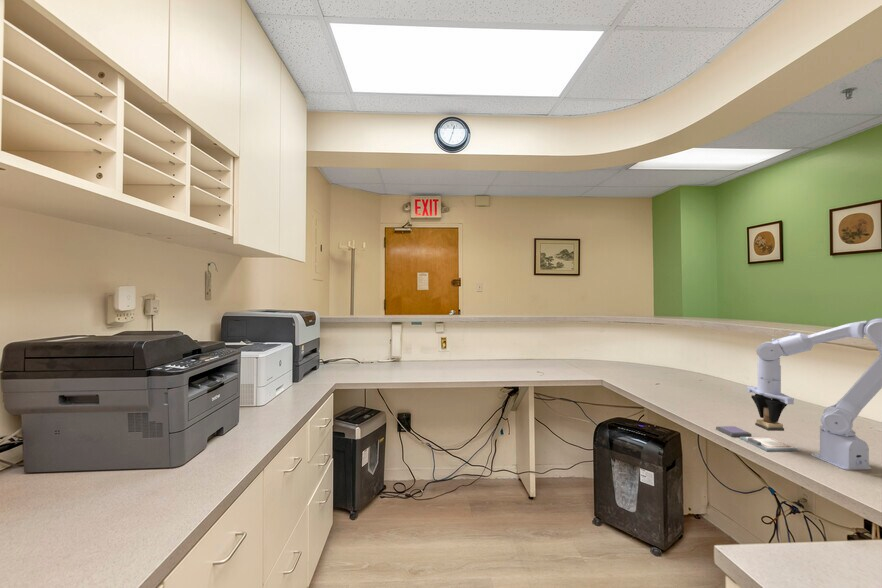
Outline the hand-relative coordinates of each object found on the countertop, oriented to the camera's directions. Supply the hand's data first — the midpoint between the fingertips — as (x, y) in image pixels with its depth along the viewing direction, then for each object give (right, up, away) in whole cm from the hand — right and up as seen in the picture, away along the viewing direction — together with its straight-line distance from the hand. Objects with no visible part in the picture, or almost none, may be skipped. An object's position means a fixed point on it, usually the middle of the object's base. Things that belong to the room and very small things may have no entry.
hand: (768, 419), depth 121 cm
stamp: (0, -3, 0) cm, 3 cm away
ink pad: (-4, -8, +10) cm, 13 cm away
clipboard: (-1, -8, 0) cm, 8 cm away
